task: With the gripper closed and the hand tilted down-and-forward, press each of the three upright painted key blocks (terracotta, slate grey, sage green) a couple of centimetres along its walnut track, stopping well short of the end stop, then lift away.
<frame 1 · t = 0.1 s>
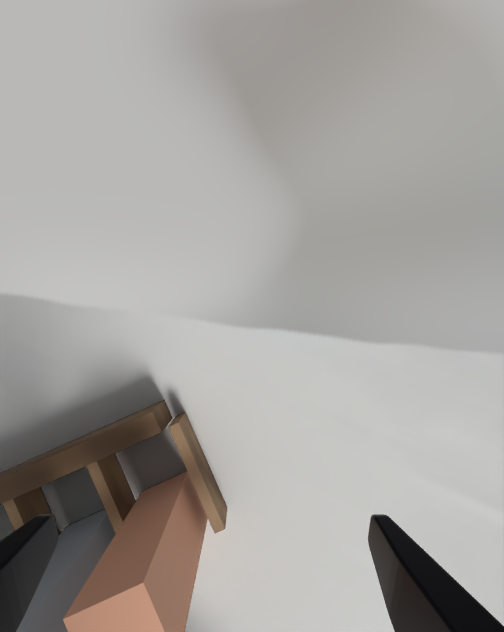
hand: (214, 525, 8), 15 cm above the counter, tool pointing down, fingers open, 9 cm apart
keybed: (111, 560, 23), on the counter
terracotta key: (155, 553, 18), point 5 cm above the counter, slide at 0.0 cm
slate key: (60, 598, 18), point 5 cm above the counter, slide at 0.0 cm
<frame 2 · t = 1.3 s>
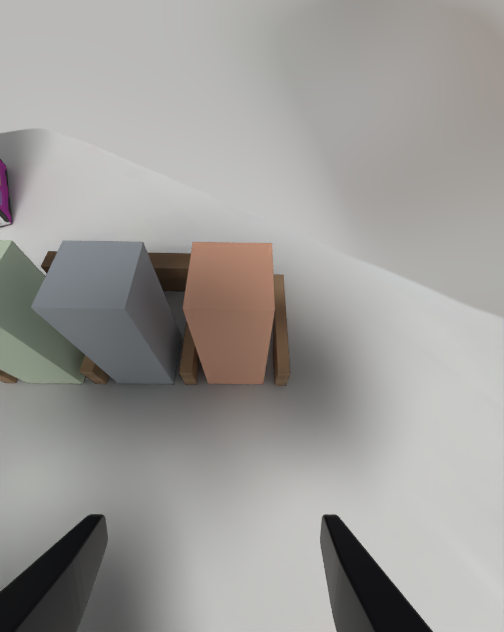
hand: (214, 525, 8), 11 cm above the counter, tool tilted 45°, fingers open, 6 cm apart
keybed: (146, 384, 21), on the counter
terracotta key: (234, 325, 18), point 5 cm above the counter, slide at 0.0 cm
sage key: (20, 324, 18), point 5 cm above the counter, slide at 0.0 cm
slate key: (128, 325, 18), point 5 cm above the counter, slide at 0.0 cm
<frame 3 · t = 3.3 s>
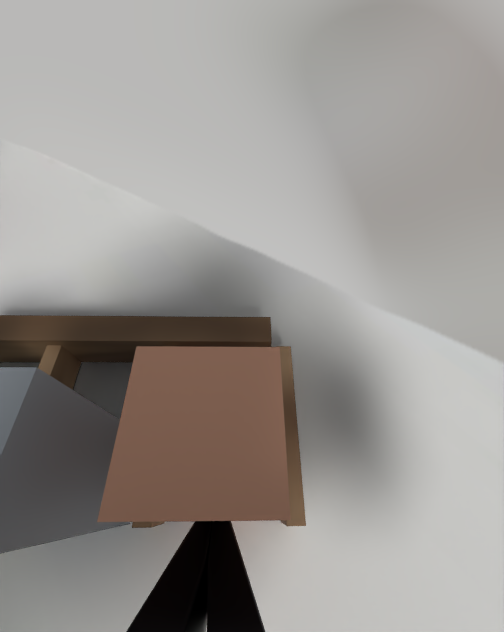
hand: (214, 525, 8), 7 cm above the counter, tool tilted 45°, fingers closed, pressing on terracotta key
keybed: (88, 523, 14), on the counter
terracotta key: (217, 449, 11), point 5 cm above the counter, slide at 0.6 cm, touching gripper
slate key: (42, 468, 11), point 5 cm above the counter, slide at 0.0 cm
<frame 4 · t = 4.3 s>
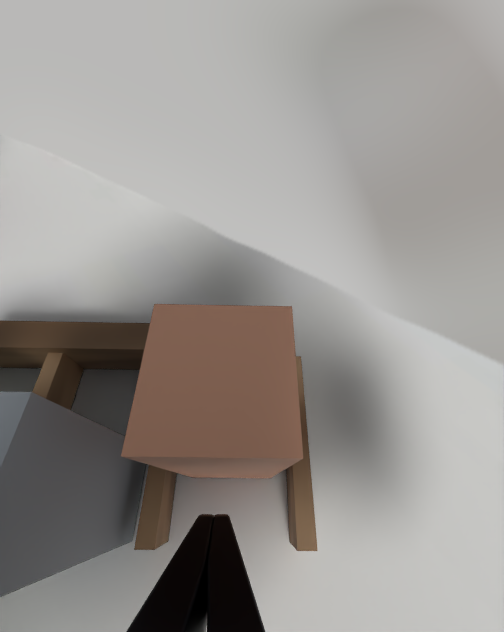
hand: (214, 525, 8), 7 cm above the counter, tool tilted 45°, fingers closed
keybed: (89, 540, 14), on the counter
terracotta key: (228, 415, 12), point 5 cm above the counter, slide at 2.6 cm
slate key: (40, 489, 10), point 5 cm above the counter, slide at 0.0 cm
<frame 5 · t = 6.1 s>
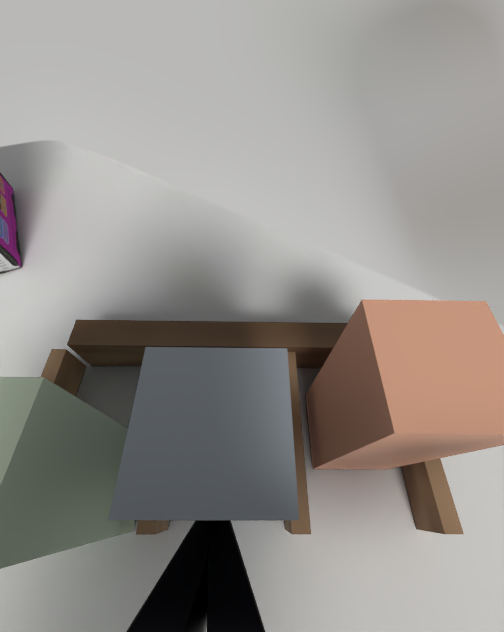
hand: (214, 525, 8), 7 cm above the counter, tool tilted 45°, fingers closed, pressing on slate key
keybed: (226, 529, 14), on the counter
terracotta key: (377, 406, 12), point 5 cm above the counter, slide at 2.6 cm
sage key: (47, 476, 11), point 5 cm above the counter, slide at 0.0 cm
slate key: (223, 450, 11), point 5 cm above the counter, slide at 0.9 cm, touching gripper
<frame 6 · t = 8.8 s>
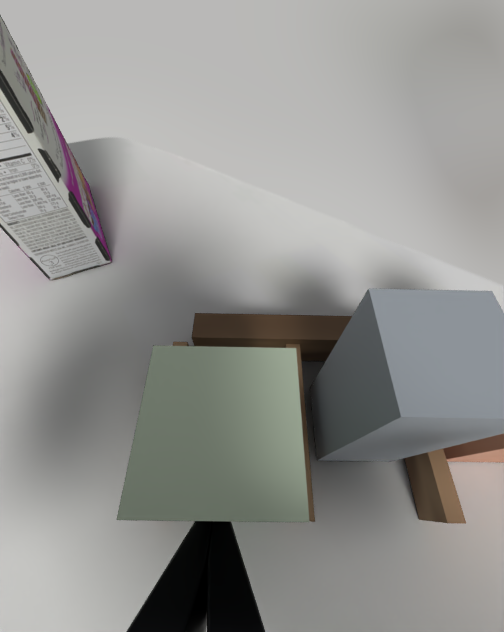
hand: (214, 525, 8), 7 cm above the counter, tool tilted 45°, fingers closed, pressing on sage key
keybed: (362, 518, 14), on the counter
sage key: (229, 449, 11), point 5 cm above the counter, slide at 0.5 cm, touching gripper
candy bar box: (72, 231, 25), on the counter
slate key: (382, 397, 13), point 5 cm above the counter, slide at 2.6 cm
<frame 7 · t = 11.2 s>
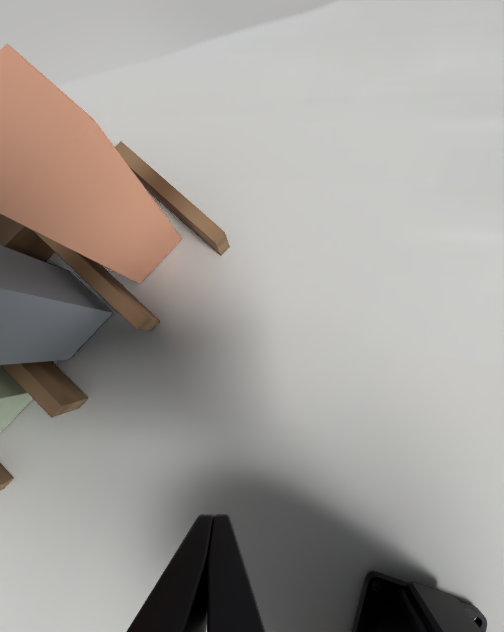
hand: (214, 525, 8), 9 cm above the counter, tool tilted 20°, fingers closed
keybed: (120, 363, 18), on the counter
terracotta key: (95, 204, 14), point 5 cm above the counter, slide at 2.6 cm
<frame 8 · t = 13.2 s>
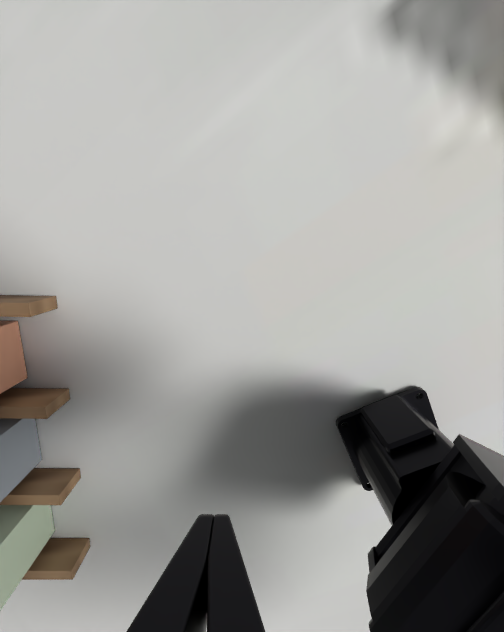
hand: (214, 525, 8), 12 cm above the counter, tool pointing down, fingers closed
keybed: (75, 434, 21), on the counter
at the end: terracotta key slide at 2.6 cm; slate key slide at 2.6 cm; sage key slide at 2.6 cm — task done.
